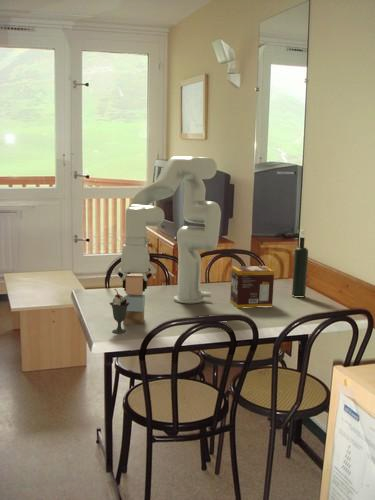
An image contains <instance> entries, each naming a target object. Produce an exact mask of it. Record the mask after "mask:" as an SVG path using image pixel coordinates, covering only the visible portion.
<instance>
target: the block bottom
mask: <svg viewBox="0 0 375 500" xmlns="http://www.w3.org/2000/svg"><path fill="white" fill-rule="evenodd" d="M144 320H145V308H144V309H143V312H140V311H126V317H125V319H124V320H123V321H122V323H123V325H140V326H141V325H142V326H143V324H144Z"/></svg>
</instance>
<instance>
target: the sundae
mask: <svg viewBox="0 0 375 500" xmlns="http://www.w3.org/2000/svg"><path fill="white" fill-rule="evenodd" d="M113 290H115V292H116V294H115V295H114V298H113V300H112V301H111V302H109V305H110V306H111V308H112V314H113V315H112V316H113V319H114V320H115V321H116V322H117V327H116V329H115V328H114V329H113V330H112V331H111V332H112V333H113V334H117V335H121V334H125V333H127V330H126V329H123V327H122V323H123V320H124V319H125V317H126V311H127V306H128V305H129V303H128V302H127V300H126V299H125V298H124V296H123V295H120V294H119V293H118V290H117V288H114V289H113Z"/></svg>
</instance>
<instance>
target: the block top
mask: <svg viewBox="0 0 375 500" xmlns="http://www.w3.org/2000/svg"><path fill="white" fill-rule="evenodd" d="M123 297H124V298H125V299H126V300H127V302H128V303H129V305H128V306H127V311H140V312H143V309H144V310H145V306H146V305H145V298H146V293H144V292H143V294H142V295H140V294H126V293H125V294H124V296H123Z"/></svg>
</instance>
